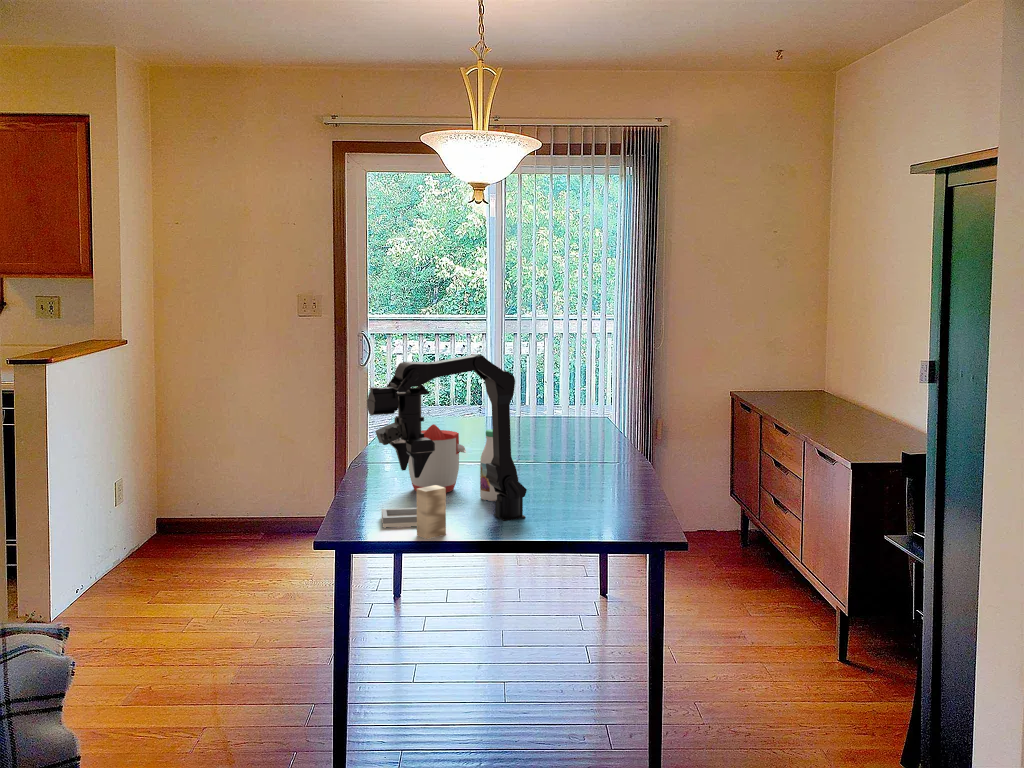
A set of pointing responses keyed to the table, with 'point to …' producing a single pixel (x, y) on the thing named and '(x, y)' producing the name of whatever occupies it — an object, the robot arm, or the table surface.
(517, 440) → the table surface
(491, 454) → the milk bottle
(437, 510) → the upright wooden block
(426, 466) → the citrus juicer
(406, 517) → the track board
